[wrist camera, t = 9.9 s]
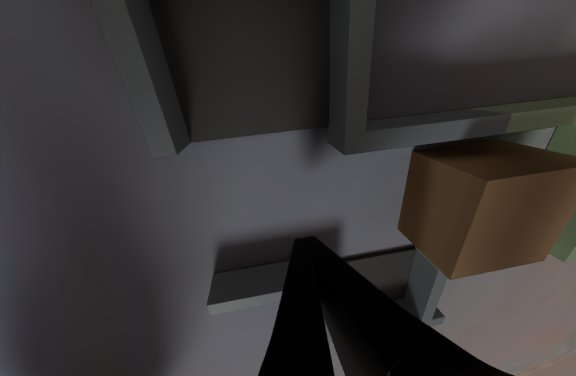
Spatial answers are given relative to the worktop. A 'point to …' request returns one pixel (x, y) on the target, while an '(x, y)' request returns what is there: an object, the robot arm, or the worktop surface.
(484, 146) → the walnut block
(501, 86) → the worktop surface
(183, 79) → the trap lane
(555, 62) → the worktop surface
